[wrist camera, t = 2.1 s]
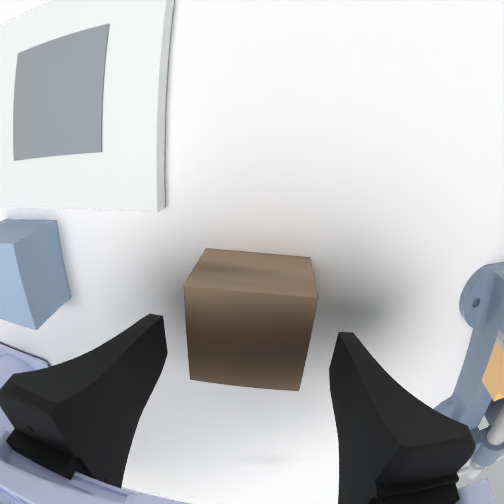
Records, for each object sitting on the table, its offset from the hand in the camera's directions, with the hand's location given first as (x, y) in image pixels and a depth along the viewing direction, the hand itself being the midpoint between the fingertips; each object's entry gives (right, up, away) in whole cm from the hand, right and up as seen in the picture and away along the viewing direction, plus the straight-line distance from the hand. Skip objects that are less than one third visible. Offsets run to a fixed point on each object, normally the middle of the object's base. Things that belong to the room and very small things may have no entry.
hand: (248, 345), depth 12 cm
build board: (-10, +12, 0) cm, 15 cm away
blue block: (-14, +4, +4) cm, 15 cm away
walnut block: (0, +2, +4) cm, 4 cm away
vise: (+18, -5, +5) cm, 19 cm away
